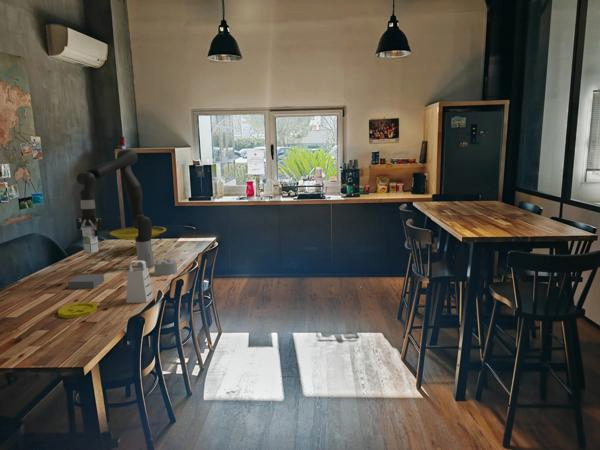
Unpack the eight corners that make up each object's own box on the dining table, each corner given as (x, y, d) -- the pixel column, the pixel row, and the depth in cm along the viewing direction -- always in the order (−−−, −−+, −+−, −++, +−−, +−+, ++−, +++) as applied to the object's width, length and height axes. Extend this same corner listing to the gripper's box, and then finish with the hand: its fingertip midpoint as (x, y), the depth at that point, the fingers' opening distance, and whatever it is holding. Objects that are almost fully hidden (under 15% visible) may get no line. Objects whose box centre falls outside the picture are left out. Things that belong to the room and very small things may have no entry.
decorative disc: (57, 321, 213) (57, 317, 213) (59, 309, 229) (59, 305, 229) (97, 315, 220) (97, 311, 220) (96, 304, 236) (96, 300, 236)
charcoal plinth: (104, 280, 274) (103, 274, 273) (93, 288, 260) (93, 281, 259) (80, 281, 274) (79, 274, 273) (68, 288, 260) (68, 281, 259)
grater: (133, 295, 247) (130, 258, 243) (153, 295, 246) (151, 258, 243) (126, 302, 236) (122, 264, 233) (146, 302, 236) (143, 264, 232)
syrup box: (98, 251, 273) (97, 226, 271) (91, 253, 267) (89, 228, 265) (91, 250, 275) (89, 226, 273) (83, 252, 269) (81, 227, 267)
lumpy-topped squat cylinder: (156, 271, 292) (155, 258, 291) (177, 270, 295) (176, 256, 293) (154, 276, 282) (153, 262, 281) (176, 274, 285) (175, 260, 283)
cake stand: (179, 248, 356) (178, 228, 353) (135, 259, 322) (133, 238, 320) (143, 242, 377) (142, 224, 374) (99, 253, 344) (97, 233, 341)
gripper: (103, 206, 271) (105, 235, 273) (78, 206, 271) (80, 235, 273) (97, 208, 263) (99, 237, 266) (72, 208, 263) (74, 237, 266)
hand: (90, 236), depth 270 cm, fingers closed on syrup box, 6 cm apart
